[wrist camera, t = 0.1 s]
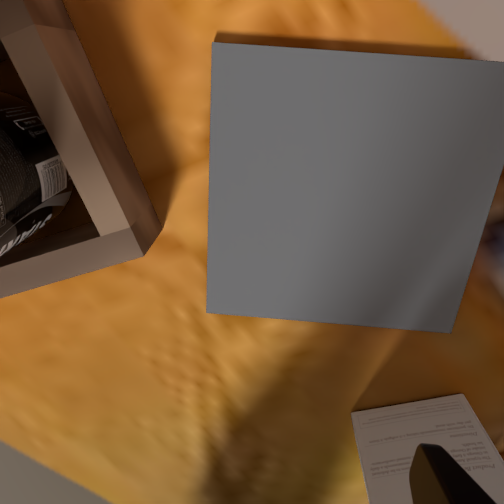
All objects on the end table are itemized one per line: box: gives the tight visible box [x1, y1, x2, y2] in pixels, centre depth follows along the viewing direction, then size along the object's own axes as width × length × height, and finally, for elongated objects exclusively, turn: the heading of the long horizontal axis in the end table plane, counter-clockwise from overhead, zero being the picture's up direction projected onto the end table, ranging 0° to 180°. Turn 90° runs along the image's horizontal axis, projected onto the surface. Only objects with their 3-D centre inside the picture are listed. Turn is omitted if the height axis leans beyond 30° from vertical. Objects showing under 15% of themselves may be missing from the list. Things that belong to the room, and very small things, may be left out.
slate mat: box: [206, 42, 504, 333], centre depth 21 cm, size 14×14×1 cm
